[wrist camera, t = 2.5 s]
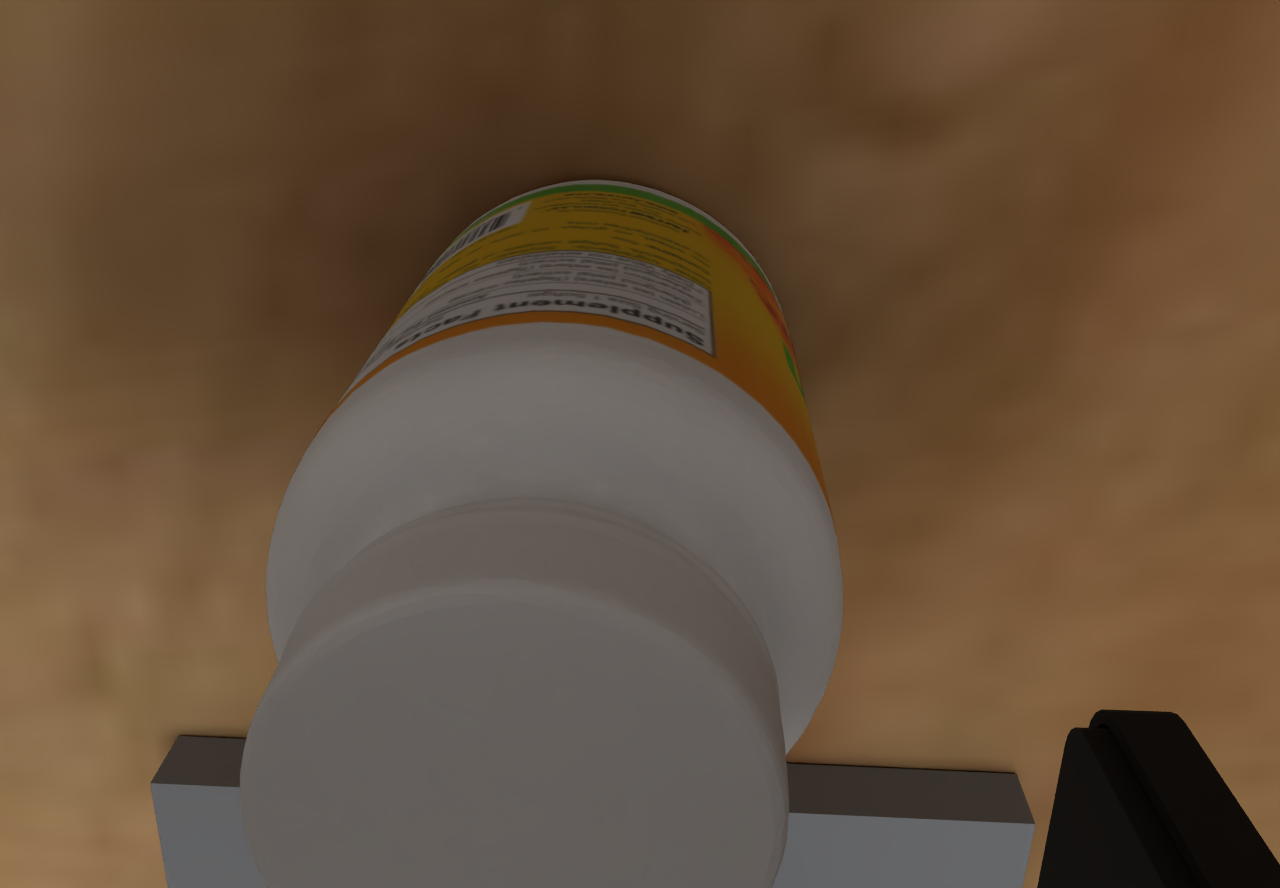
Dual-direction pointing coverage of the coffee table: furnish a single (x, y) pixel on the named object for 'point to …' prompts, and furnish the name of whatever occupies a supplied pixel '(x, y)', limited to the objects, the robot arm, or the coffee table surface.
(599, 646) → the supplement bottle
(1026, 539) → the coffee table surface
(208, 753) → the bottle holder
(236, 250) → the coffee table surface
